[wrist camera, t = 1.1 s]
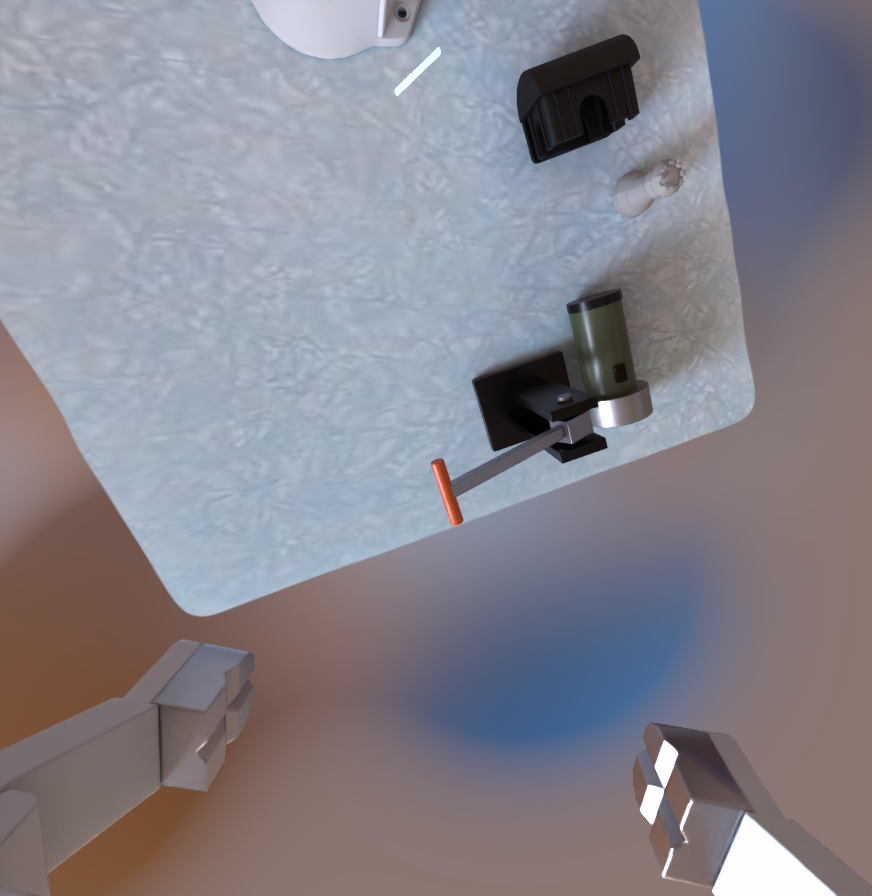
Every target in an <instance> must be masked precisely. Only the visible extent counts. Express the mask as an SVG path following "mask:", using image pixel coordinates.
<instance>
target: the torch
mask: <svg viewBox="0 0 872 896" xmlns="http://www.w3.org/2000/svg"><path fill="white" fill-rule="evenodd" d="M621 299H622V293H621V289H613V290H608V291H604V292H600V293H597V294H593V295H590V296H587V297H584V298H581V299H578V300H575V301H573V302H570V303H568V304H567V305H566V306H567V311H568V314H569V317H570V321H571V326H572V331H573V335H574V340H575V344H576V349H577V353H578V358H579V362H580V367H581V372H582V376H583V381H584V385H585V390H586V393H588V394H591V395H594V396H596V397H597V401H598V406H599V407H596V408H593V409H591V410H589V413H590V418H591V422H592V426H594V427H601V428H608V427H618V426H624V425H628V424H632V423H635V422H638V421H640V420H642V419H645V418H646V417H648V416H649V415H651V413H652V412H653V407H652V401H651V395H650V390H649V384H648V382H646V381H644V380H636V377H635V371H634V366H633V361H632V355H631V350H630V344H629V339H628V333H627V328H626V323H625V317H624V312H623V306H622V301H621Z"/></svg>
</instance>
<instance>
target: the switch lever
mask: <svg viewBox="0 0 872 896" xmlns="http://www.w3.org/2000/svg"><path fill="white" fill-rule="evenodd" d="M549 423H550V427H551V429H549V430H547V431H545V432H543V433H542V434H540V435H538V436H536V437H534V438H532V439H530V440H528V441H526V442H524V443H523V444H521V445H519V446H517V447H515V448H513V449H511V450H509V451H507V452H505V453H503V454H502V455H500V456H498V457H496V458H494V459H492V460H490V461H488V462H486V463H484V464H482V465H481V466H479V467H477V468H475V469H473V470H471V471H469V472H467V473H465V474H463V475H462V476H460V477H458V478H456V479H454V480H452V481H450V478H449V475H448V472H447V469H446V465H445V462H444V460H443V459H436V460H434V461H432V462H431V467H432V470H433V472H434V475H435V478H436V481H437V484H438V487H439V490H440V493H441V496H442V499H443V502H444V505H445V508H446V511H447V514H448V517H449V520H450V523H451V524H452V525H459V524H461V523H462V522H463V517H462V514H461V511H460V508H459V505H458V502H457V499H456V497H457V496H459V495H461V494H463V493H465V492H466V491H468V490H470V489H472V488H474V487H476V486H478V485H479V484H481V483H483V482H485V481H487V480H489V479H490V478H492V477H494V476H496V475H498V474H500V473H501V472H503V471H505V470H507V469H509V468H511V467H512V466H514V465H516V464H518V463H520V462H522V461H523V460H525V459H527V458H529V457H531V456H533V455H534V454H536V453H538V452H540V451H542V450H544V449H545V448H547V447H549V446H551V445H553V444H555V443H557V442H562V443H568V444H574V443H575V442H577V441H579V440H581V439H583V438H584V437H586V436H588V435H590V434H592V433H593V432H594V431H593V427H592V422H591V418H590V413H589V410H588V411H585V412H582V413H579V414H576V415H573V416H570V417H567V418H564V419H562V420H559V421H556V422H551V421H549Z"/></svg>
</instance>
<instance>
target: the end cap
mask: <svg viewBox="0 0 872 896" xmlns="http://www.w3.org/2000/svg"><path fill="white" fill-rule="evenodd" d="M639 59H640V55H639V51H638V48H637V46H636V44H635V42H634V41H633V39H632V38H631V37H630V36H628V35H625V34H621V35H618V36H616V37H613V38H610V39H608V40H605V41H602V42H600V43H597V44H594V45H592V46H589V47H586V48H584V49H581V50H578V51H576V52H573V53H570V54H568V55H565V56H563V57H560V58H557V59H555V60H552V61H549V62H547V63H544V64H541V65H539V66H536V67H533V68H531V69H528V70H526V71H524V72H523V73H522V74H521V76H520V78H519V82H518V87H517V108H518V115H519V119H520V123H522V125H523V129H524V133H525V137H526V140H527V144H528V148H529V152H530V156H531V159H532V161H533V162H534V163H535V164H537V163H541V162H543V161H546V160H548V159H551V158H554V157H556V156H559V155H562V154H564V153H567V152H569V151H572V150H575V149H577V148H580V147H583V146H585V145H588V144H590V143H593V142H596V141H598V140H601V139H604V138H606V137H608V136H609V135H610V134H611V133H613V132H615V131H617V130H619V129H620V128H621V127H623V126H624V125H625V119H626V118H628V120H631V119H633V118H634V117H635V116H637V115H638V114H639V113H640V112H639V107H638V102H637V97H636V92H635V87H634V81H633V76H632V71H631V67H632V66H633V65H634V64H635V63H636V62H637V61H638V60H639Z"/></svg>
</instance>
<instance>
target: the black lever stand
mask: <svg viewBox="0 0 872 896" xmlns="http://www.w3.org/2000/svg"><path fill="white" fill-rule="evenodd" d="M472 384H473V387H474V390H475V394H476V397H477V401H478V404H479V407H480V411H481V414H482V418H483V421H484V424H485V428H486V431H487V435H488V438H489V441H490V445H491V448H492V450H493V451H494V452H495V451H498V450H501V449H504V448H506V447H509V446H512V445H515V444H518V443H521V442H524V441H527V440H530V439H532V438H534V437H536V436H538V435H540V434H542V433H543V432H545V431H547V430H549V429H551V427H550V423H549V421H551V422H556V421H559V420H562V419H564V418H567V417H570V416H573V415H576V414H579V413H582V412H585V411H588V410H591V409H593V408H596V407H599V406H598V401H597V397H596V396H594V395H591V394H588V393H585V392H582V391H579V390H576V389H573V388H570V384H569V380H568V375H567V371H566V366H565V362H564V358H563V353H562V352H561V351H557V352H554V353H551V354H548V355H545V356H542V357H539V358H536V359H533V360H530V361H527V362H524V363H521V364H519V365H516V366H513V367H510V368H507V369H504V370H501V371H498V372H495V373H492V374H489V375H486V376H483V377H480V378H477V379H474V380H472ZM606 448H608V447H607V443H606V438H604V437H602V436H600V435H598V434H596V433H594V432H593V433H592V434H590V435H588V436H586V437H584V438H583V439H581V440H579V441H577V442H575V443H574V444H568V443H562V442H557V443H555V444H553V445H551V446H549V447H547V448H545V449H544V450H545V451H547V452H548V453H549V454H551V455H552V456H553V457H555V458H556V459H557V460H558V461H560V462H561V463H566V462H569V461H571V460H574V459H577V458H580V457H583V456H586V455H589V454H592V453H594V452H597V451H600V450H603V449H606Z"/></svg>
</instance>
